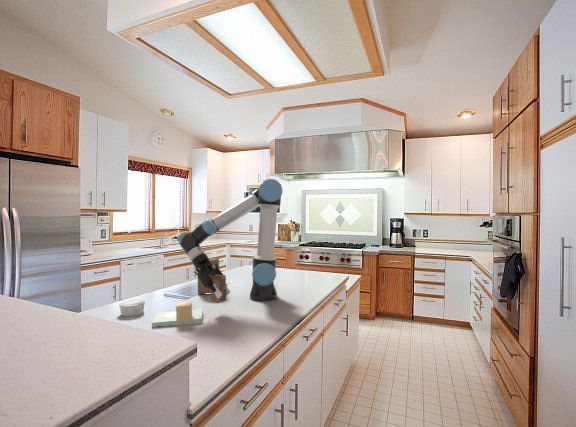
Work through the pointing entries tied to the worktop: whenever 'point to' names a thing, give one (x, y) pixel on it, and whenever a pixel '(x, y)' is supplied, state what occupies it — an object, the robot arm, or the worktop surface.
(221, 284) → the pillar
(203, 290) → the block
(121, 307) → the ramekin
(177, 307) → the cube
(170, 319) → the board
